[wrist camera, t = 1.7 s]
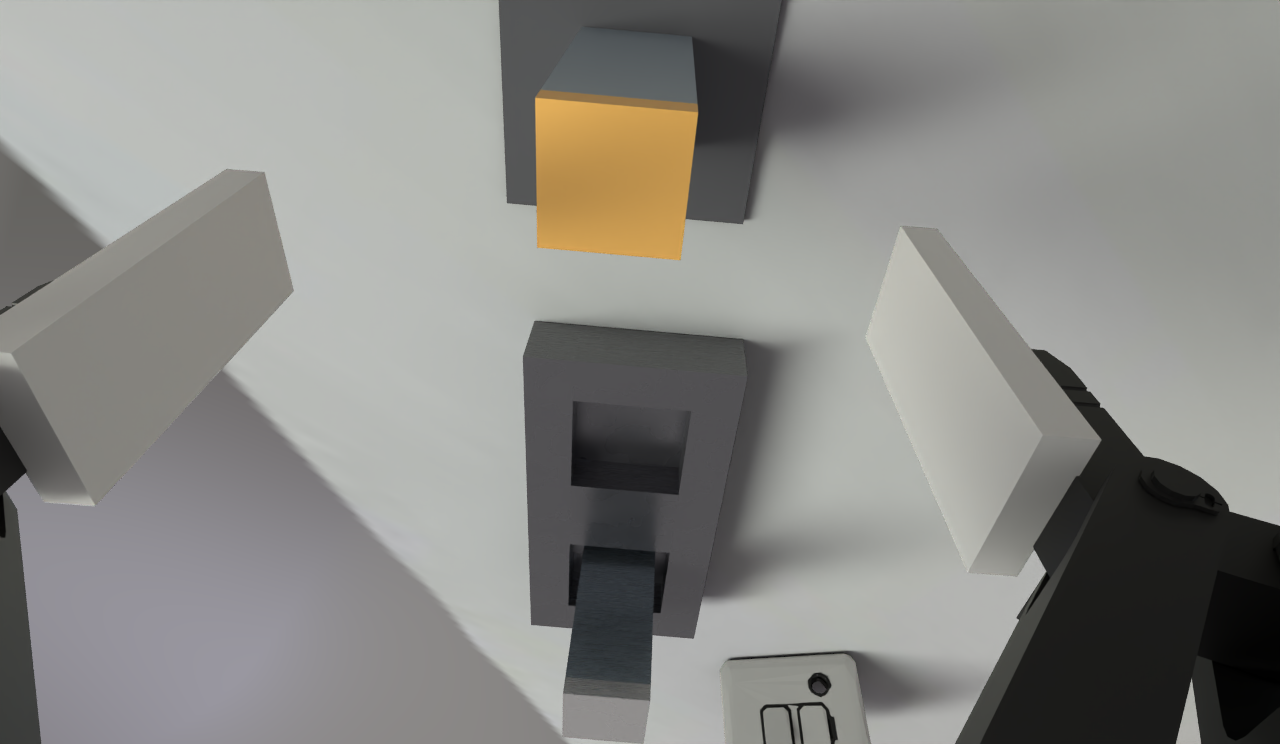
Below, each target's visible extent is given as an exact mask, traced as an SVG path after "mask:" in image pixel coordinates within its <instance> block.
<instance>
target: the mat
mask: <svg viewBox="0 0 1280 744" xmlns="http://www.w3.org/2000/svg"><path fill="white" fill-rule="evenodd" d="M781 2H782V0H499V18H500V42H501V67H502V91H503V116H504V140H505V165H506V189H507V203H512V204H523V205H534V206H537V187H536V118H535V97H536V96H537V94H538V93H539V91H540V90H541V88H542V87H543V85H544V84H545V82H546V81H547V79H548V78H549V76H550V75H551V73H552V72H553V70H554V69H555V67H556V65H557V64H558V62H559V61H560V59H561V58H562V56H563V55H564V53H565V52H566V50H567V49H568V47H569V46H570V44H571V43H572V41H573V40H574V38H575V37H576V35H577V34H578V32H579V31H580V29H581V28H582V27H591V28H603V29H614V30H625V31H636V32H647V33H658V34H669V35H680V36H691V37H692V44H693V56H694V68H695V80H696V92H697V104H698V118H697V127H696V135H695V143H694V152H693V160H692V168H691V177H690V185H689V193H688V202H687V210H686V218H685V219H692V220H703V221H714V222H725V223H737V224H743V221H744V215H745V209H746V204H747V198H748V192H749V186H750V180H751V175H752V169H753V163H754V157H755V152H756V146H757V140H758V134H759V129H760V123H761V117H762V111H763V105H764V100H765V94H766V88H767V82H768V77H769V71H770V65H771V59H772V54H773V48H774V42H775V36H776V30H777V25H778V19H779V13H780V7H781Z"/></svg>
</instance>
